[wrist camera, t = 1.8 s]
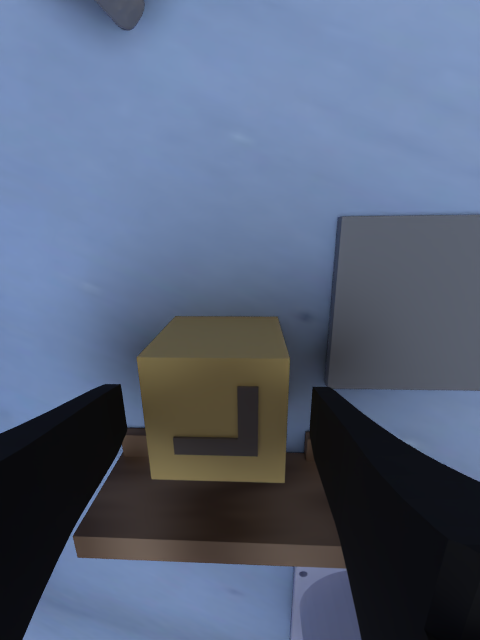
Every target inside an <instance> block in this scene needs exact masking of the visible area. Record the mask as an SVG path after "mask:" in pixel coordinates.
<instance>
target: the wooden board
mask: <svg viewBox="0 0 480 640" xmlns="http://www.w3.org/2000/svg"><path fill="white" fill-rule="evenodd" d="M122 447H123V453H122V455H121V456H120V458H119V460H118V461H117V463H116V465H115V466H114V468H113V470H112V471H111V473H110V475H109V476H108V478H107V480H106V481H105V483H104V485H103V486H102V488H101V490H100V491H99V493H98V495H97V496H96V498H95V500H94V501H93V503H92V505H91V506H90V508H89V510H88V512H87V513H86V515H85V517H84V518H83V520H82V522H81V523H80V525H79V527H78V528H77V530H76V532H75V533H74V535H73V540H74V544H75V548H76V552H77V557H78V558H101V559H125V560H149V561H173V562H197V563H222V564H246V565H270V566H294V567H318V568H343V569H346V565H345V561H344V557H343V552H342V548H341V544H340V539H339V536H338V532H337V529H336V525H335V522H334V519H333V516H332V513H331V510H330V507H329V504H328V500H327V497H326V494H325V491H324V488H323V485H322V482H321V479H320V476H319V473H318V470H317V467H316V463H315V460H314V455H313V451H312V445H311V440H310V435H309V432H306V433H305V448H304V453H286V461H285V483H268V482H232V481H196V480H160V479H151V471H150V463H149V455H148V447H147V439H146V430H145V428H127V433H126V435H125V438H124V440H123V442H122Z"/></svg>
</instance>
